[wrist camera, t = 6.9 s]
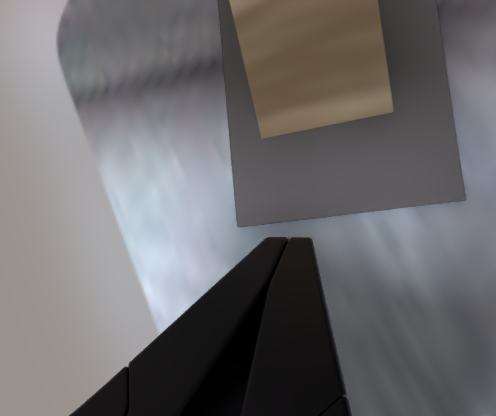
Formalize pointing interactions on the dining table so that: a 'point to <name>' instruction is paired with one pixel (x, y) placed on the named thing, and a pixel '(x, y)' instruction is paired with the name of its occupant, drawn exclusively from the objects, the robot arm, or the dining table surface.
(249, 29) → the domino
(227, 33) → the rubber mat
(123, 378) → the robot arm
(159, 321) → the dining table surface
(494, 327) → the dining table surface
